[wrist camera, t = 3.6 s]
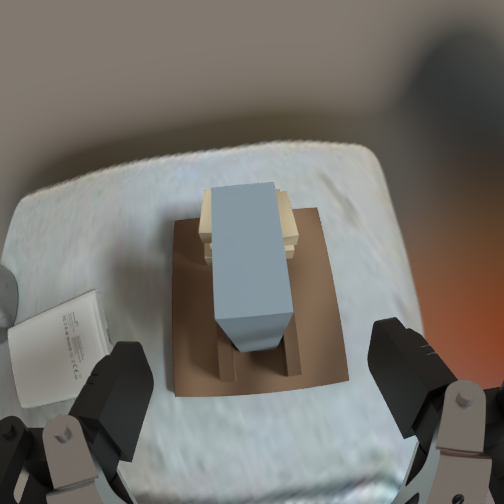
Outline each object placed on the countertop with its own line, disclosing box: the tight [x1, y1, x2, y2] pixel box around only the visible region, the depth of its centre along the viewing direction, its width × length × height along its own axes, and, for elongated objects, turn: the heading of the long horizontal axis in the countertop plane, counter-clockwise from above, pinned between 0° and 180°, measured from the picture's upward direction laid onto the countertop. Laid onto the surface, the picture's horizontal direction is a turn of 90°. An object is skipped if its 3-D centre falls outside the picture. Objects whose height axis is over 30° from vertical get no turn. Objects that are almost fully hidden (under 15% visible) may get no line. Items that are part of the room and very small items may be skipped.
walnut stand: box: [172, 208, 349, 397], centre depth 19 cm, size 12×14×4 cm
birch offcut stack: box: [199, 189, 299, 266], centre depth 20 cm, size 7×4×4 cm, turn 95°
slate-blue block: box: [211, 182, 294, 352], centre depth 14 cm, size 2×5×11 cm, turn 5°
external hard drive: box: [8, 290, 113, 408], centre depth 19 cm, size 2×8×12 cm
